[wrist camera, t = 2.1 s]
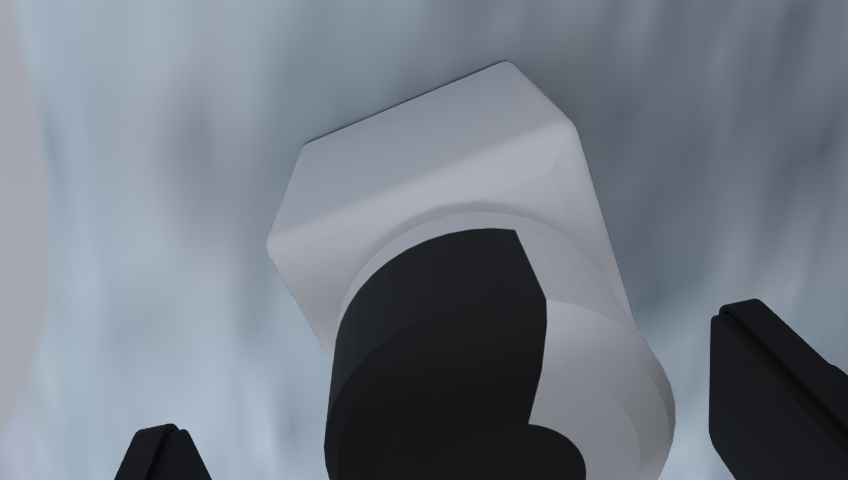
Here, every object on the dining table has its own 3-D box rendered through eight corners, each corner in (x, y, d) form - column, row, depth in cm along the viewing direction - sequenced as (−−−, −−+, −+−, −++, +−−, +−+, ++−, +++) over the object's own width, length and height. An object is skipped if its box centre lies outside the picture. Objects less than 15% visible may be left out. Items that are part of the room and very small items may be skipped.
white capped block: (387, 318, 23) (392, 664, 12) (297, 144, 20) (194, 398, 9) (574, 248, 22) (759, 550, 11) (510, 54, 19) (682, 215, 8)
